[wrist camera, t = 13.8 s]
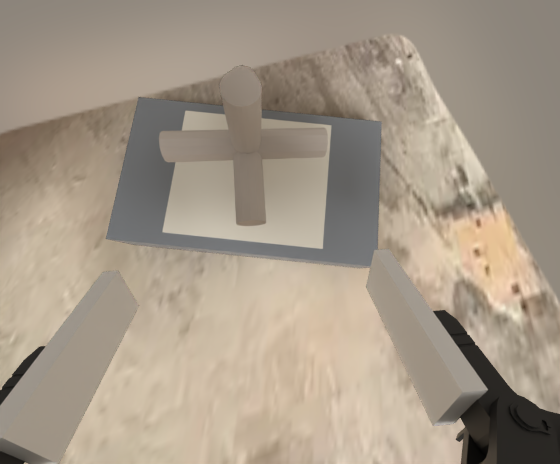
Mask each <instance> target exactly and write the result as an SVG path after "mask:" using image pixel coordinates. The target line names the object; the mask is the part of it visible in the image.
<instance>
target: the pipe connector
mask: <svg viewBox="0 0 560 464" xmlns="http://www.w3.org/2000/svg"><path fill="white" fill-rule="evenodd" d="M219 89H220V94H221V98H222V103H223V107H224V112H225V116H226V121H227V125H228V129H229V130H185V131H161V132H160V134H159V146H160V150H161V154H162V156H163V158H164V160H165V161H166V162H195V161H226V160H233V167H234V188H235V209H236V224H237V225H239V226H257V225H262V224H265V223H266V209H265V194H264V179H263V164H262V159H287V158H317V157H324V156H325V155H326V152H327V146H328V134H327V130H326V129H325V128H279V129H261V120H262V86H261V82H260V80H259V78H258V77H257V76H256V74H255V71H254V70H253V69H251V68H250V67H247V66H243V65H241V66H237V67H234V68H233V69H232V70H231V71H229V72H228V73H226V74H225V75H224V76H223V77H222V79H221V81H220V85H219Z"/></svg>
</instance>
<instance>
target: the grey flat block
mask: <svg viewBox="0 0 560 464" xmlns="http://www.w3.org/2000/svg"><path fill="white" fill-rule="evenodd" d="M279 128H325V129H326V130H327V134H328V146H327V152H326V155H325V156H324V157H317V158H287V159H262V164H263V179H264V194H265V209H266V223H265V224H262V225H257V226H239V225H237V224H236V209H235V188H234V167H233V160H226V161H195V162H166V161H165V160H164V158H163V156H162V154H161V150H160V146H159V134H160V132H161V131H185V130H229V129H228V125H227V121H226V116H225V112H224V107H223V106H222V105H212V104H202V103H192V102H182V101H172V100H162V99H152V98H143V97H139V98H138V102H137V106H136V111H135V115H134V119H133V124H132V128H131V132H130V137H129V141H128V145H127V150H126V154H125V158H124V163H123V167H122V171H121V176H120V180H119V184H118V189H117V193H116V197H115V201H114V206H113V210H112V214H111V219H110V223H109V227H108V232H107V236H106V239H109V240H114V241H118V242H123V243H128V244H133V245H141V246H151V247H160V248H170V249H180V250H189V251H199V252H209V253H218V254H228V255H237V256H247V257H257V258H266V259H276V260H286V261H295V262H305V263H315V264H324V265H334V266H344V267H353V268H369V267H371V262H372V258H373V253H374V250H378V218H379V186H380V154H381V122H380V121H370V120H360V119H350V118H340V117H330V116H321V115H311V114H301V113H291V112H281V111H271V110H262V120H261V129H279Z"/></svg>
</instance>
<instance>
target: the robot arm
mask: <svg viewBox="0 0 560 464" xmlns="http://www.w3.org/2000/svg"><path fill="white" fill-rule="evenodd" d="M366 288H367V290H368V292H369V294H370V296H371V298H372V300H373V302H374V304H375V306H376V308H377V311H378V313H379V315H380V317H381V319H382V321H383V323H384V325H385V327H386V329H387V331H388V333H389V336H390V338H391V340H392V342H393V344H394V346H395V348H396V350H397V352H398V354H399V356H400V358H401V361H402V363H403V365H404V367H405V369H406V371H407V373H408V375H409V377H410V379H411V381H412V383H413V386H414V388H415V390H416V392H417V394H418V396H419V398H420V400H421V402H422V404H423V406H424V408H425V411H426V413H427V415H428V417H429V419H430V421H431V423H432V425H433V426H439V425H448V424H454V423H455V422H456V421H457V420H458V419H459V418H461V420H462V421H463V423H464V425H465V428H464V429H463V430H462V431H461V432H460V433H458V435H457V438H456V440H457V441H459V442H460V441H461V440H462V439H463V448H462V458H461V464H560V414H557V413H553V412H549V411H546V410H543V409H540V408H539V407H537V406H536V405H535V404H534V403H532V402H531V401H529V400H527V399H526V398H524V397H522V396H519V395H517V394H516V393H515V392H514V391H513V390H512V389H511V388H510V387H509V386H508V385H507V383H506V382H505V381H504V379H503V378H502V377H501V376H500V374H499V373H498V372H497V370H496V369H495V368H494V367H493V365H492V364H491V363H490V361H489V360H488V359H487V358H486V356H485V355H484V354H483V352H482V351H481V350H480V349H479V347H478V346H476V345H475V342H474V341H473V340H472V338H471V337H470V336H469V335H467V332H466V331H465V329H464V328H463V327H462V325H461V324H460V323H459V322H458V320H456V319H455V318H454V317H453V316H451V315H450V314H449V313H448V312H446V311H445V310H441V311H432V309H431V308H430V307H429V305H428V304H427V302H426V301H425V300H424V298H423V297H422V295H421V294H420V292H419V291H418V290H417V288H416V287H415V285H414V284H413V282H412V281H411V280H410V278H409V277H408V275H407V274H406V273H405V271H404V270H403V268H402V267H401V265H400V264H399V263H398V261H397V260H396V258H395V257H394V256H393V254H392V253H391V251H390V250H389V249H380V250H374V253H373V258H372V262H371V267H370V271H369V276H368V280H367V284H366ZM138 307H139V305H138V303H137V301H136V300H135V298H134V296H133V295H132V293H131V291H130V289H129V288H128V286H127V284H126V283H125V281H124V279H123V278H122V276H121V274H120V273H119V271H108V272H102V274H101V275H100V276H99V278H98V279H97V280H96V282H95V283H94V284H93V285H92V287H91V288H90V289H89V291H88V292H87V293H86V295H85V296H84V297H83V298H82V300H81V301H80V302H79V304H78V305H77V306H76V308H75V309H74V310H73V311H72V313H71V314H70V315H69V317H68V318H67V319H66V321H65V322H64V323H63V324H62V326H61V327H60V328H59V330H58V331H57V332H56V334H55V335H54V336H53V338H52V339H51V340H50V341H49V343H48V344H47V345H46V346H41V347H39V348H38V349H36V350H35V351H34V352H33V353H32V354H31V355H29V356H28V357H27V358H26V359H25V360H24V361H23V362H22V363H21V365H20V366H19V367H18V368H17V369H16V371H15V372H14V373H13V374H12V375H13V376H12V377H11V378H9V379H8V381H7V382H6V383H5V384H4V386H3V387H2V390H0V464H24V462H26V463H29V464H59V463H60V461H61V459H62V457H63V455H64V453H65V451H66V449H67V447H68V445H69V443H70V441H71V439H72V437H73V435H74V433H75V431H76V429H77V427H78V425H79V423H80V422H81V420H82V418H83V416H84V414H85V412H86V410H87V408H88V406H89V404H90V402H91V400H92V398H93V396H94V394H95V392H96V390H97V388H98V386H99V384H100V382H101V380H102V378H103V376H104V374H105V372H106V370H107V368H108V366H109V364H110V362H111V360H112V358H113V356H114V355H115V353H116V351H117V349H118V347H119V345H120V343H121V341H122V339H123V337H124V335H125V333H126V331H127V329H128V327H129V325H130V323H131V321H132V319H133V317H134V315H135V313H136V311H137V309H138Z"/></svg>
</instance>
